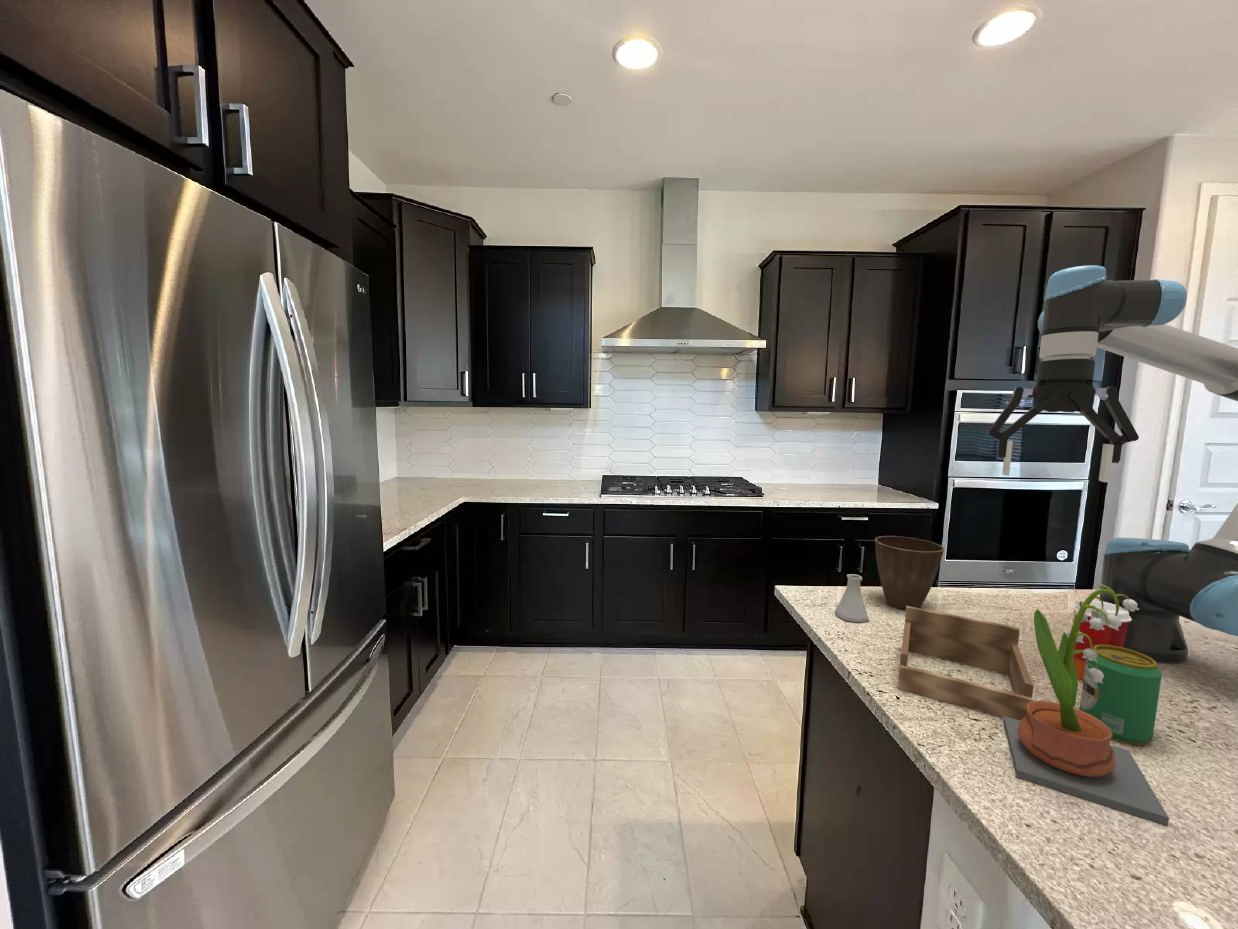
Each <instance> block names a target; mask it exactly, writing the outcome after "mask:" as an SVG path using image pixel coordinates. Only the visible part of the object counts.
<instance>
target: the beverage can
mask: <svg viewBox="0 0 1238 929" xmlns="http://www.w3.org/2000/svg"><path fill="white" fill-rule="evenodd" d="M1093 650H1094V651H1096V653H1097V657H1096V662H1097V666H1098V669H1099V670H1100V671H1101V672H1102V673H1103V675H1104V678H1103V679H1102V682H1103V683H1100V682H1099V680H1098V683H1096V682H1093V681H1092V679H1091V680H1089V679H1087V676H1088V674H1087V671H1088V670H1089V669H1091V668H1096V664H1095V661H1093V660H1092V661H1091V660H1088V659H1087V658H1086V664H1085V672H1084V680H1083V681H1082V689H1081V698H1080V704H1079V710H1081V711H1083V712H1085V713H1088V714H1090V715H1092V716H1093V717H1095V718H1097V719H1098V720H1100V721H1101V722H1103V723H1104V724H1105V725H1106V726H1107V727H1108V728H1109V729H1110V730H1111V732H1112V735H1113V736H1112V738H1111V739H1110V740H1113V739H1114V741H1116V740H1117V742H1120V743H1125V744H1129V745H1136V746H1139V745H1140V746H1141V745H1145V743H1146V744H1147V743H1148V741H1149V740H1151V739H1152V738H1153V737H1154V731H1155V724H1156V718H1157V717H1156V716H1157V712H1158V704H1159V696H1160V689H1161V683H1162V677H1163V674H1162V671H1161V670H1160V668H1159V667H1158V662H1156V661H1155V660H1153V659H1152V658H1150V657H1148V656H1146V655H1144V654H1141V653H1138V652H1136V651H1132V650H1129V649H1126V648H1121V647H1117V646H1111V645H1095V646H1094V647H1093Z"/></svg>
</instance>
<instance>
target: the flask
mask: <svg viewBox="0 0 1238 929" xmlns="http://www.w3.org/2000/svg"><path fill="white" fill-rule="evenodd" d="M846 577H847V585H846V587H845V590H844V593H843V595H842V597H841V599H840V601H839V603H838V605H836V607H835V610H834V613H835V615H836V617H837V618H839V619H842V620H844V621H846V622H852V623H865V622H869V621H870V618H869V615H868V612H867V610H866V606H865V603H864V599H863V595H862V589H861V582H862V581H863V577H862V576H861V575H858V574H856V573H855V574H852V573H849V574H846Z"/></svg>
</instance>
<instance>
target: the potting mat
mask: <svg viewBox="0 0 1238 929" xmlns="http://www.w3.org/2000/svg"><path fill="white" fill-rule="evenodd" d="M1002 721H1003V726H1004V730H1005V734H1006V738H1007V743H1008V747H1009V752H1010V755H1011V760H1012V764H1013V768H1014V773H1015V776H1016V778H1018V779H1021V780H1025V781H1028V782H1031V783H1034V784H1038V785H1041V786H1044V787H1045V788H1050V789H1052V790H1056V791H1059V792H1062V793H1065V794H1068V795H1071V796H1074V797H1078V798H1081V799H1084V800H1087V801H1090V802H1093V803H1096V804H1100V805H1103V806H1106V807H1109V808H1112V809H1115V810H1118V811H1121V812H1123V813H1127V814H1130V815H1133V816H1137V817H1139V818H1142V819H1146V820H1149V821H1152V822H1154V823H1158V824H1161V825H1164V826H1169V820H1170V817H1169V816H1168V813H1167V811H1166V810H1165V809H1164V807H1163V805H1162V803H1161V802H1160V800H1159V799H1158V797H1157V795H1156V794H1155V792H1154V790H1153V788H1152V786H1151V785H1150V783H1149V782H1148V780H1147V778H1146V777H1145V774H1143V772H1142V770H1141V768H1140V767H1139V765H1138V763H1137V762H1136V760H1135V759H1134V757H1133V755H1132V753H1131V752H1130V750H1129V749H1126V748H1123V747H1119V746H1116V745H1111V744H1110V745H1111V747H1112V749H1113V751H1114V753H1115V763H1116V767H1115V769H1114V770H1113V771H1111V772H1110V773H1108V774H1106V775H1104V776H1101V777H1087V776H1081V775H1076V774H1072V773H1069V772H1065V771H1063V770H1060V769H1058V768H1055V767H1053V766H1051V765H1049V764H1048V763H1046V762H1044V761H1042V760H1041V759H1039V758H1038V757H1036V756H1035V755H1033V754H1032V753H1031V752H1030V751H1029V750H1028V749H1027V748H1026V747H1025V746H1024V744H1023V742H1022V741H1021V739H1020V737H1019V736H1018V733H1017V730H1018V727H1019V723H1020V721H1021V720H1017V719H1013V718H1010V717H1006V716H1004V717H1003V720H1002Z"/></svg>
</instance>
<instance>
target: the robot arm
mask: <svg viewBox="0 0 1238 929" xmlns="http://www.w3.org/2000/svg"><path fill="white" fill-rule="evenodd" d="M1107 278H1108V276H1107V269H1106V267H1104V266H1101V265H1098V264H1097V265H1096V264H1095V265H1093V264H1092V265H1091V264H1089V265H1080V266H1072V267H1068V268H1063V269H1061V270H1057V271H1056V272H1054V273H1053V274H1051V276H1050V277H1049V278H1048V280H1047V285H1046V290H1045V296H1044V298H1043V300H1044V307H1043V311H1042V312H1041V313H1040V315H1039V318H1038V320H1037V328H1038V331H1039V332H1040V334H1041V340H1040V349H1039V355H1038V358H1039V359H1040V360H1042V361H1040V362H1039V363H1038V364H1037V373H1036V382H1035V385H1034V388H1023V386H1017V387H1015V388H1014V389H1013V391H1012V394H1011V395H1012V396H1011V398H1010V400H1009V402H1008V403H1007V404H1006V406H1005V408H1004V409H1003V410H1002V411H1001V413H1000V414H999V416H997V418H996V420H995V421H994V422H993V424H992V425H991V427H990V428H989V429H988V431H987V435H988V436H989V437H992V438H995V439H997V442H998V443H997V452H996V453H997V454H996V455H997V457H999V458H1003V464H1002V473H1001V474H1002V476H1005V477H1006V476H1010V473H1011V472H1010V470H1011V462H1012V461H1011V460H1012V453H1013V440H1010V439H1009V438H1011V437H1012V435H1014V434H1016V433H1017V432H1018V431H1019V430H1021V428H1023V427H1024V426H1025V425H1027V424H1028V423H1029V422H1030V421H1031V420H1032V419H1034V418H1035V417H1037V415H1039V414H1040V413H1042V411H1045V412H1046V413H1047V412H1048V413H1058V412H1062V413H1075V412H1077V411H1078V412H1079V413H1080V414H1081V415H1082V416H1083V417H1084V418H1085V419H1086V420H1087V421H1088V422H1089V423H1090V424H1091V425H1092V426H1094V428H1096V430H1097V431H1099V433H1100V434H1101V435H1102V436H1104V438H1105V439H1106V440H1107V441H1108V442H1109V443H1103V444H1102V451H1101V458H1100V468H1099V475H1098V481H1099V482H1102V483H1110V479H1111V471H1112V465H1113V464H1119V463H1120V462H1121V455H1122V450H1123V449H1122V448H1123V445H1124V444H1126V443H1131V442H1136V441H1138V440H1139V439H1140V437H1139V434H1138V433H1137V431H1136V429H1135V428H1134V426H1133V423H1132V421H1131V420H1130V419H1129V416H1128V414H1127V413H1126V411H1125V410H1124V408H1123V406H1122V403H1121V402H1120V400H1119V393H1118V392H1119V390H1118V387H1117V386H1115V385H1112V386H1107V387H1102V388H1101V387H1099V388H1095V386H1094V376H1095V365H1096V361H1095V360H1094V359H1092V358H1093V357H1095V356H1097V350H1098V349H1101V350H1104V351H1107V352H1110V353H1113V354H1116V355H1119V356H1122V357H1125V358H1127V359H1130V360H1134V361H1136V362H1139V363H1142V364H1145V365H1148V366H1151V367H1154V368H1157V369H1159V370H1162V371H1166V372H1169V373H1171V374H1174V375H1177V376H1181V377H1182V378H1184V379H1185V378H1186V379H1189V380H1191V381H1195V382H1198V383H1200V384H1203V386H1204V388H1205V390H1207V391H1208V392H1209V393H1211V394H1215V395H1217V396H1220V397H1223V398H1226V399H1228V400H1233V401H1236V402H1238V347H1235V346H1232V345H1229V344H1226V343H1223V342H1220V341H1217V340H1214V339H1211V338H1209V337H1205V336H1201V335H1198V334H1196V333H1192V332H1190V331H1187V330H1184V329H1181V328H1178V327H1174V326H1171V325H1168V323H1171V322H1172V321H1174V320H1175V319H1177V317H1178V316H1179V315H1180V314H1181V313H1183V311H1184V309H1185V306H1186V305H1187V300H1188V298H1187V297H1188V291H1187V289H1186V288H1185V286H1184V285H1183V284H1182V283H1181V282H1179V281H1176V280H1166V279H1165V280H1164V279H1158V278H1154V279H1148V280H1147V279H1145V280H1143V279H1142V280H1141V279H1139V280H1138V279H1137V280H1134V279H1133V280H1112V279H1107ZM1029 396H1032V397H1033V399H1034V400H1035V401H1036V402H1037V403H1036V404H1035V405H1033V406H1032V407H1031V408H1029V409H1028V410H1027V411H1026V412H1025V413H1024V414H1023V415H1021V416H1020V417H1019V418H1018V419H1017V420H1015V421H1014V422H1013V423H1012V424H1011V425H1009V426H1008V427H1007V428H1005V429H1004V430H1003V431H1002V432H1001V431H1000V430H1001V429H1002V427H1003V426H1004V424H1006V422H1007V421H1008V419H1009V418H1010V417H1011V415H1012V414H1013V413H1014V411H1015V410H1016V409H1017V407H1018V406H1019V404H1020V403H1021V401H1023V400H1024V401H1025V400H1026V399H1027V398H1028V397H1029ZM1094 396H1098V399H1100V400H1102V401H1104V404H1105V406H1106V408H1107V410H1108V411H1109V413H1110V414H1111V416H1112V418H1113V421H1114V422H1115V424H1116V426H1117V427H1118V429H1119V431H1120V433H1121V435H1119V433H1118V432H1116V430H1115V429H1114V428H1112V426H1110V424H1108V423H1107V421H1106V420H1104V419H1103V417H1102V416H1100V414H1098V413H1097V411H1095V409H1094V407H1092V406H1091V405H1090V404H1089V403H1088V402H1089V401H1091V399H1092V398H1093V397H1094ZM1008 439H1009V440H1008ZM1100 581H1101V582H1100V584H1101V585H1104V586H1107V587H1109V588H1110V589H1112V590H1113V591H1114V592H1115V594H1116V595H1117V594H1123V595H1125V596H1127V597H1128V598H1129V599H1132V600H1134V601H1135V602H1136V603H1137V608H1138V609H1139V610H1135V611H1133V612H1131V611H1130V610H1129V609H1128V610H1127V611H1128V612H1129V616H1130V617H1131V619H1132V620H1131V621H1129V622H1128V626H1127V631H1126V635H1125V640H1124V644H1123V648H1126V649H1129V650H1132V651H1136V652H1138V653H1141V654H1144V655H1146V656H1148V657H1150V658H1152V659H1153V660H1155V661H1156V663H1163V664H1182V663H1183V664H1184V663H1185V662H1187V660H1188V653H1189V648H1188V644H1187V641H1186V638H1185V634H1184V631H1183V629H1182V624H1181V622H1180V617H1183V618H1184V619H1187V620H1189V621H1192V622H1194V623H1197V624H1198V625H1201V626H1203V627H1205V628H1206V629H1209V630H1213V631H1217V632H1218V631H1219V632H1221V633H1224V634H1227V635H1230V636H1235V637H1238V502H1237V503H1236V505H1235V506H1234V508H1233V509H1232V511H1231V512H1230V513H1229V515H1228V516H1227V518H1226V519H1225V521H1224V522H1223V524H1222V525H1221V526H1220V528H1219V529H1218V531H1217V532H1216V534H1215V535H1214V536H1213V537H1212V538H1209V539H1205V540H1199V541H1195V542H1194V544H1193V546H1192V547H1191V548H1190V546H1189V544H1188V543H1184V542H1180V541H1173V540H1165V539H1164V540H1163V539H1153V538H1150V539H1149V538H1139V537H1137V538H1136V537H1114V538H1111V539H1109V540H1108V541H1107V543H1106V547H1105V551H1104V553H1103V562H1102V573H1101V580H1100ZM1100 589H1107V588H1105V587H1100ZM1107 590H1109V589H1107ZM1125 596H1117V598H1118V601H1119V606H1120V607H1122V608H1124V609H1125V607H1124V606H1123V601H1124V600H1126V599H1127V598H1126V597H1125ZM1099 597H1100V598H1101V599H1102V601H1103V602H1107V603H1111V604H1115V600H1114V598H1113V597H1112V596H1111V595H1109V594H1107V593H1100V594H1099ZM1098 601H1100V600H1099V599H1098ZM1115 605H1116V604H1115Z"/></svg>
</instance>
